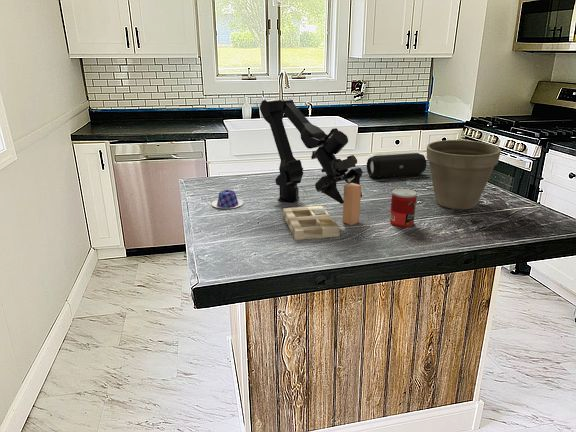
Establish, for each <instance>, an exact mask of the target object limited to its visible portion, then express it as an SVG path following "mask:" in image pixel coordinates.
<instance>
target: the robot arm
mask: <svg viewBox="0 0 576 432" xmlns="http://www.w3.org/2000/svg"><path fill="white" fill-rule="evenodd" d="M259 111H260V113H261V115H262V118H263V120H265V121H266V122H267V123H268V124H269V126H270V130H271V133H272V136H273V139H274V143H275V146H276V149H277V153H278V157H279V158H280V164H279V168H278V169H279V174H278V175H277V177H275V179H274V181H275V184H276V186H278V187H279V198H277V201H279V202H287V203H294V202H295V201H296V200H298V199H299V198H300V196H299V192H300V191H299V190H300V189H299V187H298V184H301V181H302V179H303V176H304V171H303V170H304V167H303V166H302V161H301V160H300V159H297V158H295V157H294V154H293V152H292V147H291V145H290V142H289V139H288V134H287V131H286V129H285V125H284V121H283V119H284V116H286V117H287V119H288V120H289V121H290V123H292V125H293V126H294V127H295V128H296V130H297V131H298V132H299V134H300V139H301V141H302V143H303V145H304V147H306V148H307V149H311V150H312V149H316V148H317V149H316V150H313V151H311V152H312V153H311V157H310V159H311V160H315V159H316V160H317V161H318V162H319V164H320V166H321V168H322V169H320V170H321V173H325V175H324V176H321V177H320V178H319V179H318V181H316V182H315V183H314V184H315V185H314V187H315V190H316V191H317V193H321V194H324V195H326V196H328V197H330V198H332V199H333V200H334V201H336V202H337V203H339V204H340V205H343V203H344V201H343V196H342V195H341V194H340V192H339V190H338V187H337V183H339V182H343V181H345V183H347V184H349V183H355V184H358V185H361V182H360V180H361V178H362V176H363V174H364V172H363V170H362V168H361V167H358V166H356V165H357V164H358V160H357V159H358V158H357V157H355V155H354V154H351V155H349V156H347V157H346V158H344V159H342V158H337V157H336V155H337V154H339V153H340V151H342V149H343V148H344V147H345V146H346V145H347V144H348V143H349V137H348V136H347V134H345V133H344V132H343V131H340V130H339V129H338V128H337V127H336V128H331V130H330V131H329V133H325V131H324V130H323V129H321V128H320V127H319V126H317V125H314V124H312V123H311V122H310V121H309V119H308V118H307V117H306V116H305V115H304V114H303V112H301V110H300V109H299V107H297V105H296V104H295V103H294V101H293V99H291V98H283V99H279V98H271V99H262V101H261V103H260V105H259ZM362 197H363V193H362V191H361V198H362Z"/></svg>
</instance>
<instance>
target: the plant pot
mask: <svg viewBox="0 0 576 432" xmlns="http://www.w3.org/2000/svg"><path fill="white" fill-rule="evenodd" d="M501 153H502V150H501V148H500V147H498V145H497V146H496V145H494V144H492V143H488V142H484V141H483V142H482V141H475V140H464V139H447V140H436V141H432V142H430V143H428V144H427V145H426V161H428V163H429V170H430V177H431V182H432V188H433V193H434V198H435V202H436V204H438V205H439V206H441V207H445V208H448V209H451V210H453V209H454V210H470V209H474V208H476V207H477V205H478V203H479V202H480V199H481V197H482V195H483V193H484V191H485V189H486V186H487V183H488V181H489V179H490V178H491V174H492V172H493V170H494V167H495V166H497V165H498V163H499V161H500V155H501Z"/></svg>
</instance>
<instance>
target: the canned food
mask: <svg viewBox="0 0 576 432" xmlns="http://www.w3.org/2000/svg"><path fill="white" fill-rule="evenodd" d="M417 194H418V193H417V192H416V191H415V190H413V189H408V188H395V189H393V190H392V191H391V200H390V201H391V202H390V214H389V222H390V224H391V225H393V226H395V227H398V228H408V227H409V228H410V227H412V226H413V225H414V224H415V216H416V215H415V214H416V207H417V198H418V196H417Z"/></svg>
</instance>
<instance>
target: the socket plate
mask: <svg viewBox="0 0 576 432" xmlns="http://www.w3.org/2000/svg"><path fill="white" fill-rule="evenodd" d="M282 213H283V214H282V215H283V216H282V217H283V219H284V221H285V223H286V225H287V227H288V228H289V230H290V232H291V234H292V236H293V238H294V240H295V241H298V240H299V241H301V240H311V239H323V238H334V237H336V238H337V237H340V231H341V230H340V226H339V224H338V223H337V222H336V221H335V220H334V218H332V216H331V215H330V213H328V211H327V210H326V208H325V207H324V206H323V205H314V206H301V207H299V206H298V207H288V208H287V207H286V208H285V207H284V208H283V209H282Z"/></svg>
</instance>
